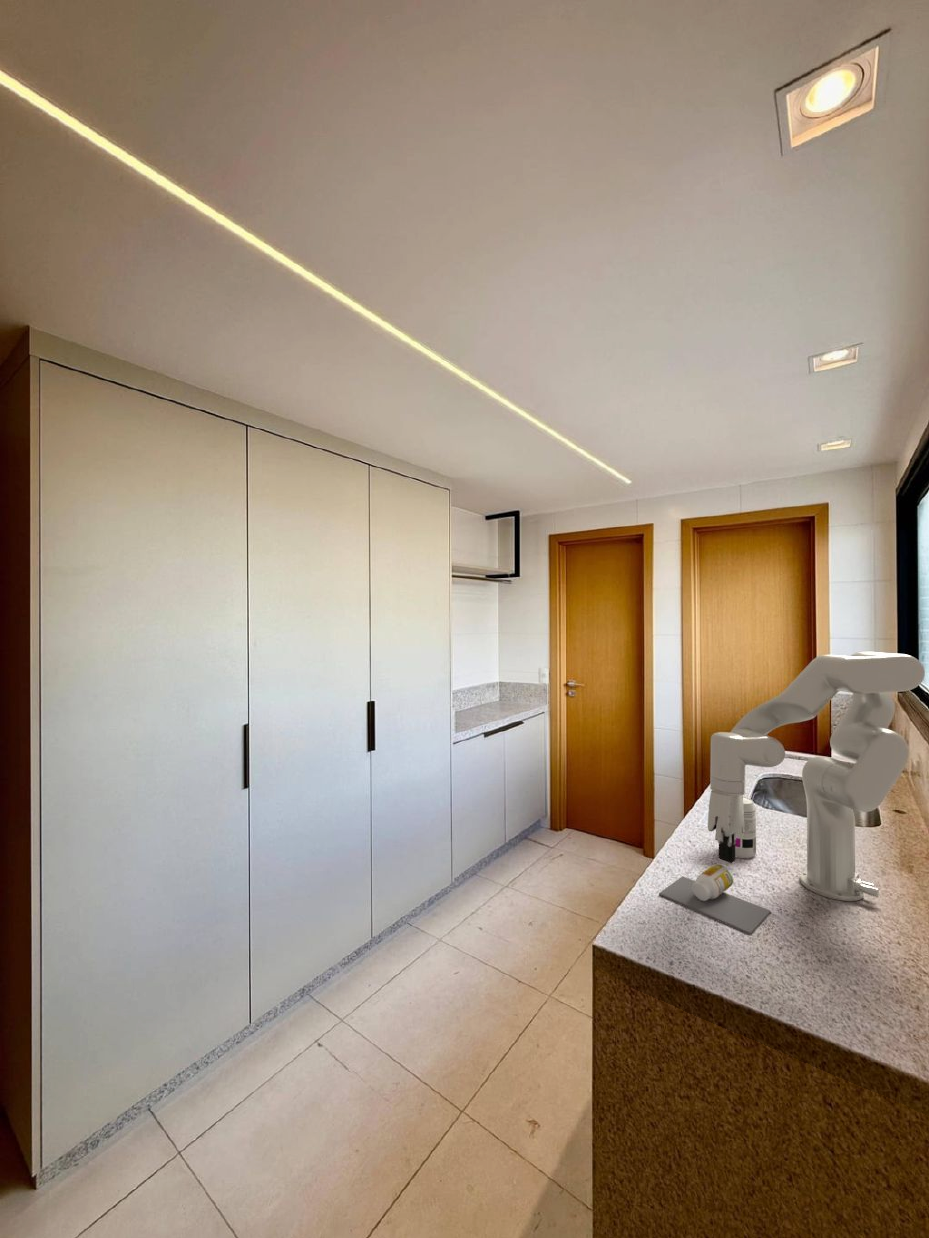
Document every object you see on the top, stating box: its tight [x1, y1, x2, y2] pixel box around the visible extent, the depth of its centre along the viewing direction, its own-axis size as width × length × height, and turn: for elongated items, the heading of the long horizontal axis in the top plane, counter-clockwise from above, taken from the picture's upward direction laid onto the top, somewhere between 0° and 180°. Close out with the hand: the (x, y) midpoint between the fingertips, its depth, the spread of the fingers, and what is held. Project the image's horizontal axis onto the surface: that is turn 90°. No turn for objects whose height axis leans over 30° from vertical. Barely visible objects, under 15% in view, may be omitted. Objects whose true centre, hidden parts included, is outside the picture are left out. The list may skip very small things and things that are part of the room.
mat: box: [658, 875, 772, 936], centre depth 114 cm, size 20×12×1 cm, turn 41°
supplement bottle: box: [692, 863, 734, 901], centre depth 117 cm, size 5×5×10 cm
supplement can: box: [733, 796, 757, 859], centre depth 140 cm, size 8×8×15 cm
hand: (726, 859), depth 120 cm, fingers closed
